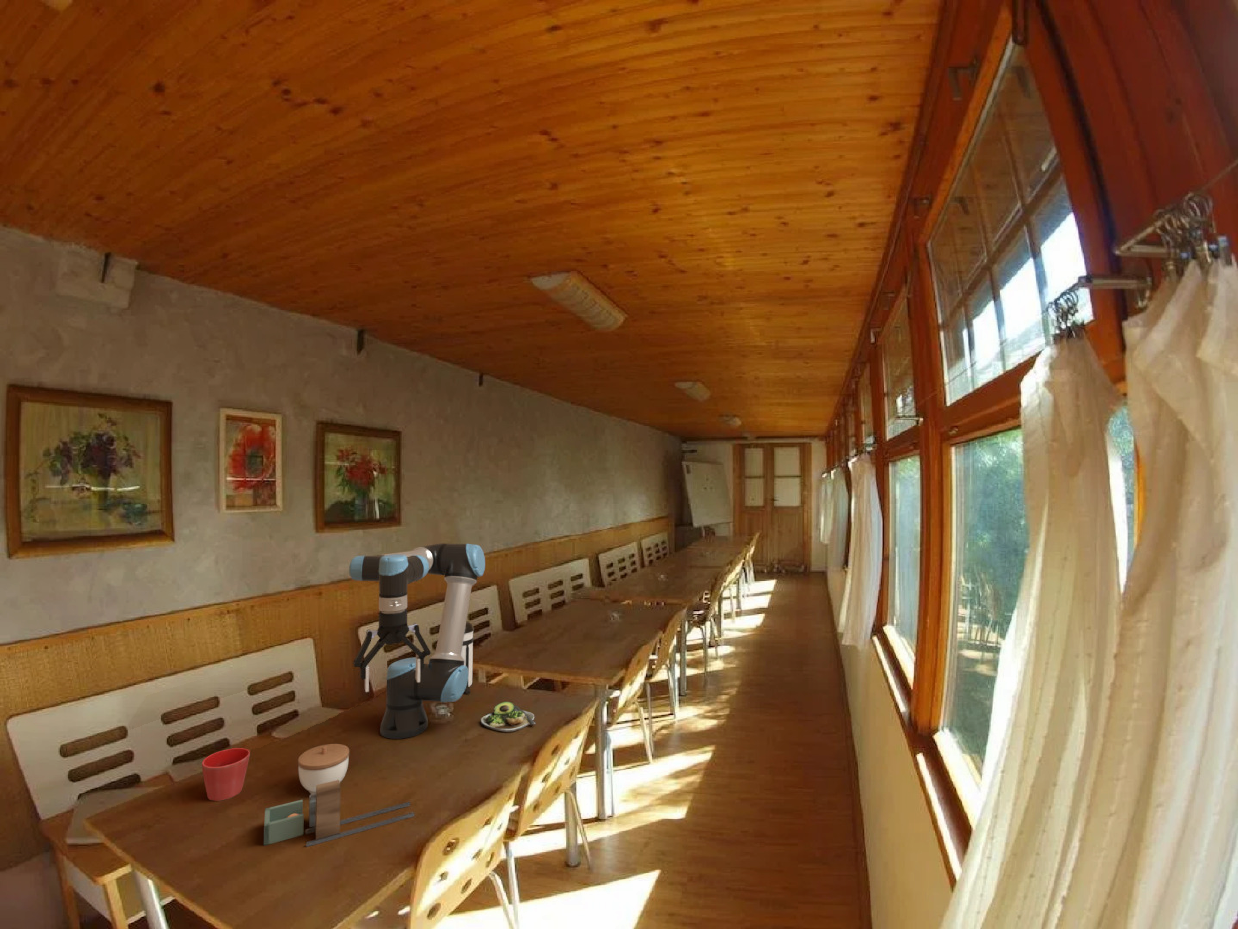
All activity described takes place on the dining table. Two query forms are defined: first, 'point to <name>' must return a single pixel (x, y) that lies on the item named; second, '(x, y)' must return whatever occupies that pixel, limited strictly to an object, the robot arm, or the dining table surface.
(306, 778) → the lidded bowl
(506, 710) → the avocado toast plate
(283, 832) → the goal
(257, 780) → the dining table surface
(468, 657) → the coffee press
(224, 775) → the flower pot
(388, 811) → the guide rails
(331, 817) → the brown boxy piece
